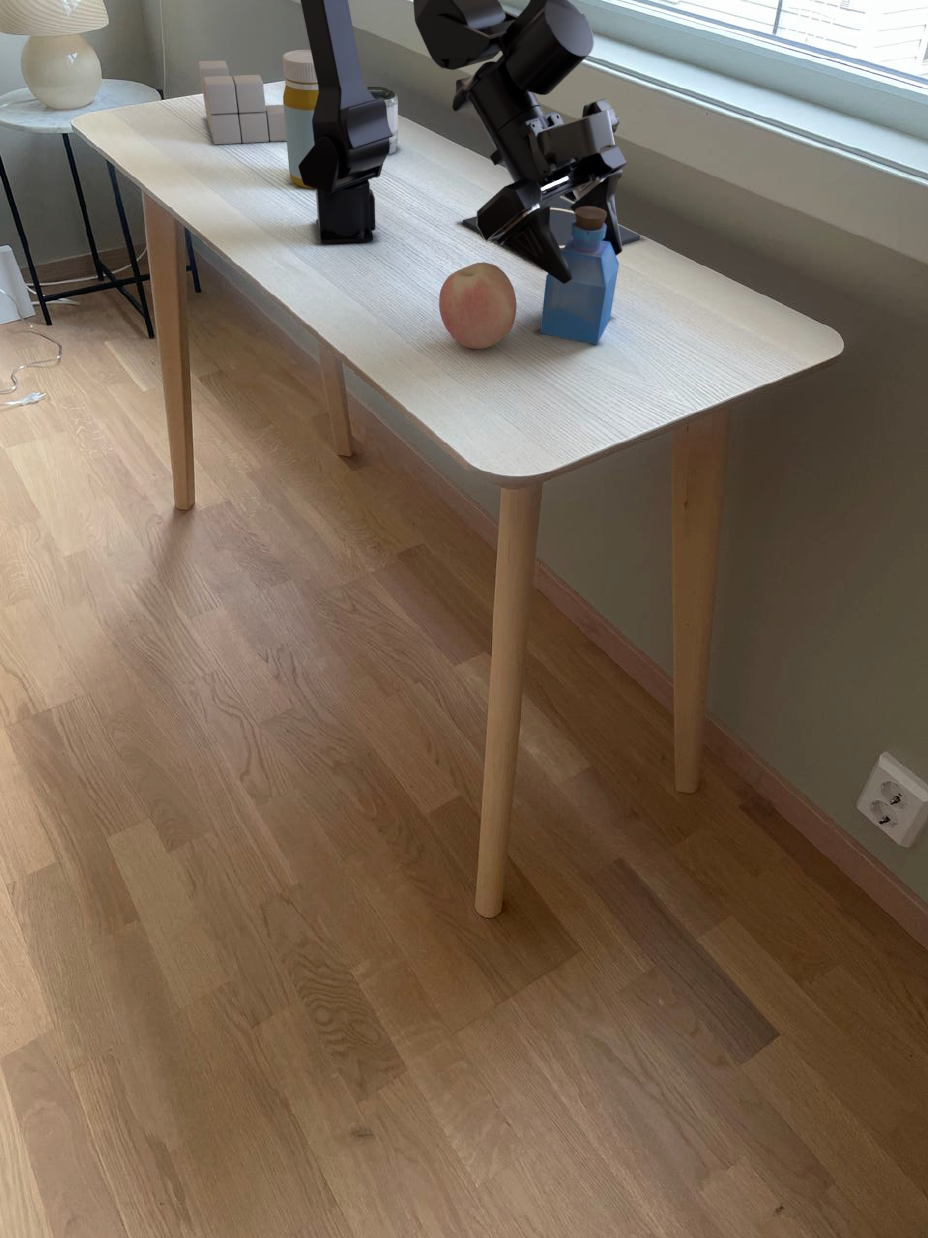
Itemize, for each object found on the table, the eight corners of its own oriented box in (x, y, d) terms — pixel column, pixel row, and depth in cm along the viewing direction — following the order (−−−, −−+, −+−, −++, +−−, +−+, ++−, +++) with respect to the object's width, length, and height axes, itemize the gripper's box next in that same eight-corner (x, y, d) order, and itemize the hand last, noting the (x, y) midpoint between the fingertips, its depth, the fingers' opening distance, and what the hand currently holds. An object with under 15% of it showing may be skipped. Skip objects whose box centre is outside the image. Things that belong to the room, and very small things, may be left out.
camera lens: (400, 156, 135) (400, 96, 129) (357, 156, 134) (355, 96, 128) (395, 141, 139) (395, 83, 134) (353, 142, 138) (351, 83, 133)
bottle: (280, 184, 125) (268, 58, 115) (306, 168, 130) (296, 45, 119) (326, 193, 123) (318, 66, 113) (350, 176, 128) (345, 53, 118)
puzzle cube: (296, 140, 138) (291, 80, 132) (214, 144, 135) (206, 84, 130) (284, 115, 146) (279, 58, 140) (206, 118, 143) (198, 60, 138)
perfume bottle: (609, 318, 101) (628, 206, 93) (596, 344, 97) (614, 229, 88) (555, 308, 102) (568, 196, 94) (540, 332, 98) (552, 218, 90)
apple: (475, 318, 100) (479, 244, 94) (528, 344, 96) (536, 268, 91) (423, 341, 96) (424, 266, 90) (476, 369, 92) (481, 292, 86)
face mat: (545, 268, 109) (546, 263, 109) (462, 223, 118) (462, 218, 118) (639, 239, 117) (640, 234, 116) (554, 198, 126) (555, 193, 125)
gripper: (509, 91, 79) (598, 255, 82) (625, 53, 90) (700, 200, 93) (438, 164, 88) (520, 311, 91) (551, 122, 99) (621, 254, 102)
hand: (594, 267), depth 94 cm, fingers open, 9 cm apart
